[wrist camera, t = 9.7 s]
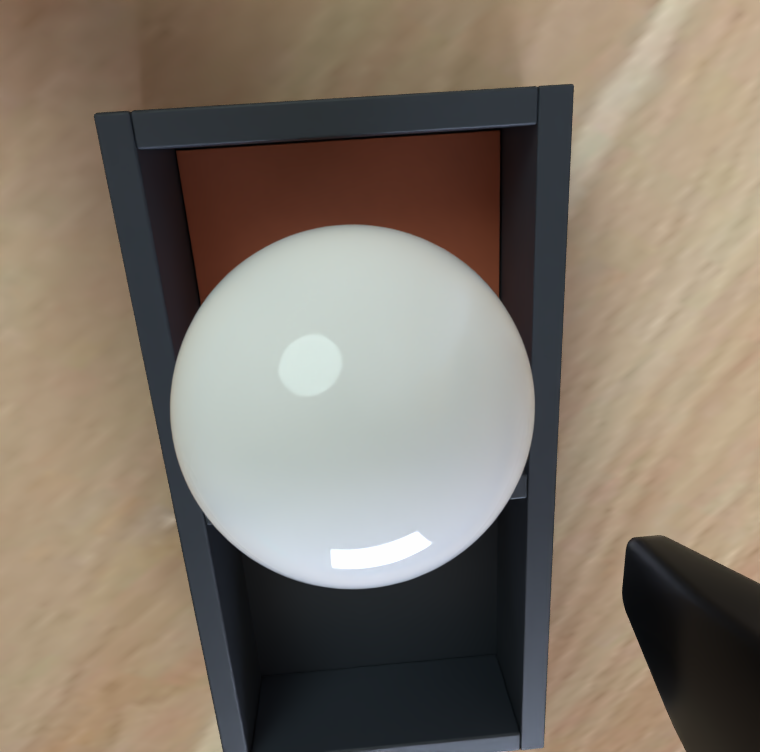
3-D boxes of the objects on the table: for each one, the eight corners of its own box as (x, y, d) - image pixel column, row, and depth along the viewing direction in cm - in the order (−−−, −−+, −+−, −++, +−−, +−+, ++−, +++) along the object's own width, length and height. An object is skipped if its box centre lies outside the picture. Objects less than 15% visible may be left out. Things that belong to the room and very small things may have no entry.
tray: (244, 687, 24) (228, 780, 21) (143, 119, 17) (91, 113, 14) (514, 661, 25) (544, 748, 21) (526, 95, 17) (574, 83, 14)
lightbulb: (368, 436, 20) (399, 738, 10) (199, 322, 19) (25, 545, 8) (497, 280, 19) (690, 448, 8) (324, 142, 17) (301, 141, 7)
